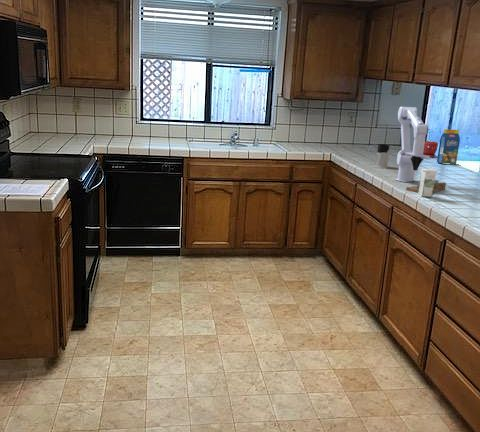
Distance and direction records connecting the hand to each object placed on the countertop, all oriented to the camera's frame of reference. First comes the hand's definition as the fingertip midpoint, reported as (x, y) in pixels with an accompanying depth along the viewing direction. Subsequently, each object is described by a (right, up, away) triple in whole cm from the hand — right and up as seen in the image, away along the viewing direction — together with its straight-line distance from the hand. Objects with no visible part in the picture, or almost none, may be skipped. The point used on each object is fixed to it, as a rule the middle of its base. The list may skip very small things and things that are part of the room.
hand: (415, 170), depth 292 cm
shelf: (+4, -11, -5) cm, 13 cm away
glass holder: (-5, +8, +62) cm, 62 cm away
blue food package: (+53, +12, +88) cm, 103 cm away
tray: (+5, -10, -6) cm, 13 cm away
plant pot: (+49, +21, +117) cm, 129 cm away
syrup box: (-2, -16, -20) cm, 25 cm away
